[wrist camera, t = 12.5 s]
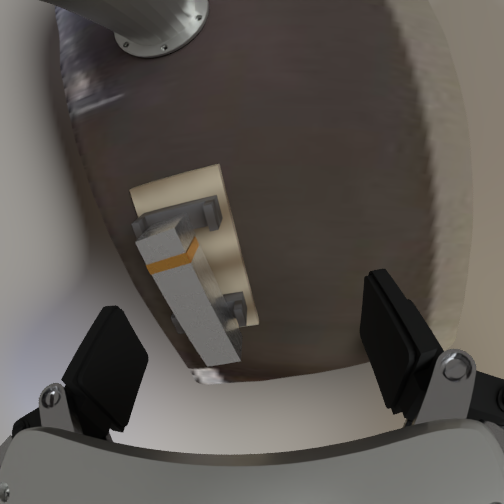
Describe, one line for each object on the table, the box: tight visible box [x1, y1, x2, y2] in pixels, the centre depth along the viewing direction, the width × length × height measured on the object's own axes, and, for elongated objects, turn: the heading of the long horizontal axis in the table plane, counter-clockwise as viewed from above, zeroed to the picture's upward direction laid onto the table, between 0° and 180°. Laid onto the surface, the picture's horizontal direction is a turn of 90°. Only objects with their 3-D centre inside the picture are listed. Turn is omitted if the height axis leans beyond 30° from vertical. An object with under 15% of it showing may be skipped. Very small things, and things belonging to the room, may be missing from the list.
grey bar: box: [135, 213, 243, 366], centre depth 33 cm, size 20×5×5 cm, turn 18°
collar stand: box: [130, 164, 259, 334], centre depth 35 cm, size 24×12×5 cm, turn 12°
